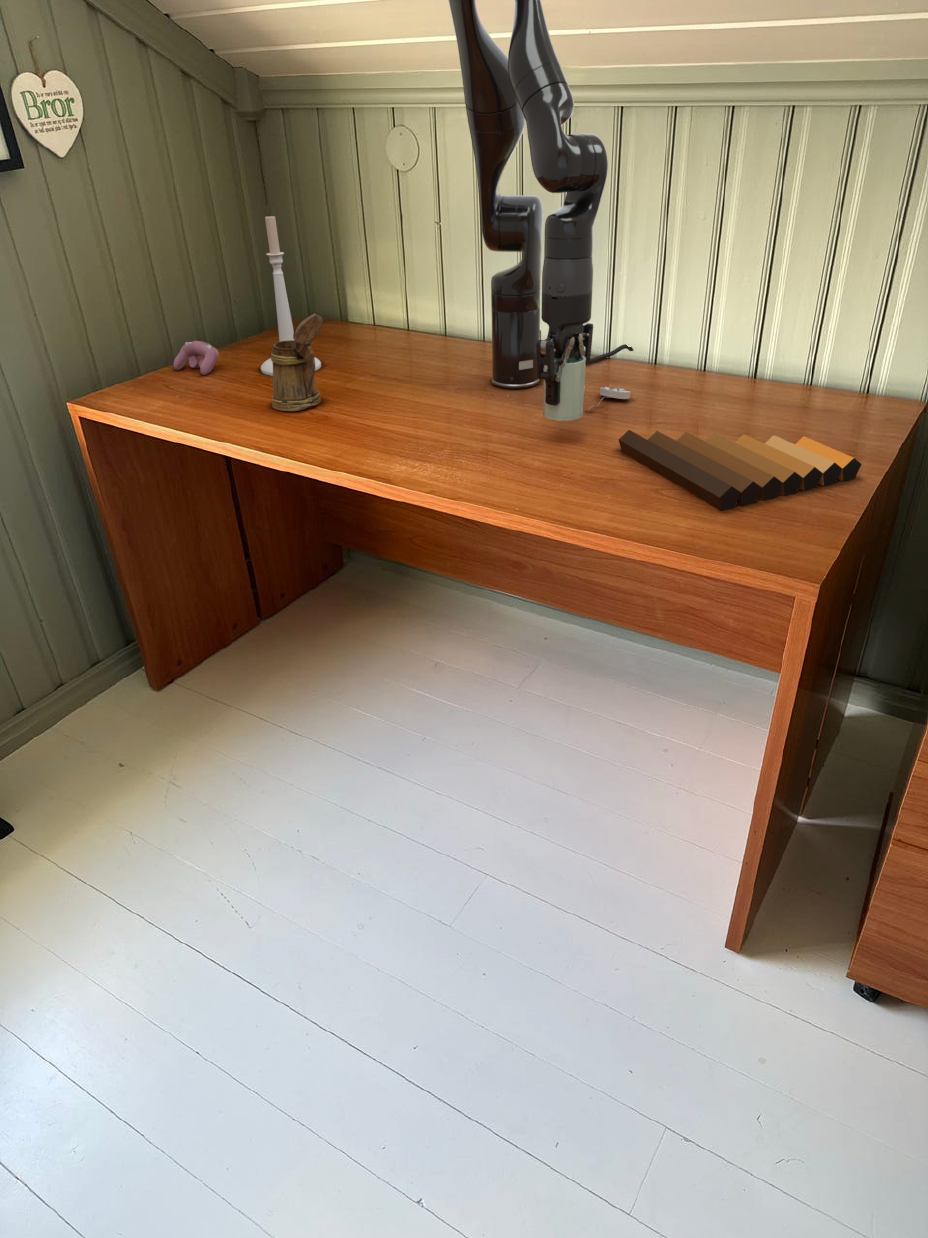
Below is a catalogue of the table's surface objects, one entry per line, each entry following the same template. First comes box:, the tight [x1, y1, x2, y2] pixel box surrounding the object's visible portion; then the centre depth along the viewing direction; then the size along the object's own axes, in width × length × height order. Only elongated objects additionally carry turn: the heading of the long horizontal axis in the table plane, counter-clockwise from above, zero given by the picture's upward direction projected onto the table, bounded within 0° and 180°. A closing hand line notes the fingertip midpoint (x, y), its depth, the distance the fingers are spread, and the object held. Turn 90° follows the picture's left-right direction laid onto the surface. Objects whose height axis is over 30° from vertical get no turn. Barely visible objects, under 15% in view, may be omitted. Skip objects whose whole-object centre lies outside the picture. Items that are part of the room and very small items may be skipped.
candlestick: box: [260, 214, 322, 377], centre depth 173 cm, size 13×13×30 cm
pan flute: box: [618, 429, 862, 512], centre depth 127 cm, size 25×3×25 cm
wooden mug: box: [270, 311, 324, 412], centre depth 153 cm, size 9×14×18 cm, turn 47°
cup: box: [542, 356, 587, 422], centre depth 133 cm, size 6×6×9 cm
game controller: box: [587, 385, 632, 413], centre depth 153 cm, size 6×12×3 cm, turn 158°
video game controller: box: [172, 340, 220, 376], centre depth 180 cm, size 10×5×7 cm, turn 58°
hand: (563, 397), depth 134 cm, fingers closed on cup, 6 cm apart
